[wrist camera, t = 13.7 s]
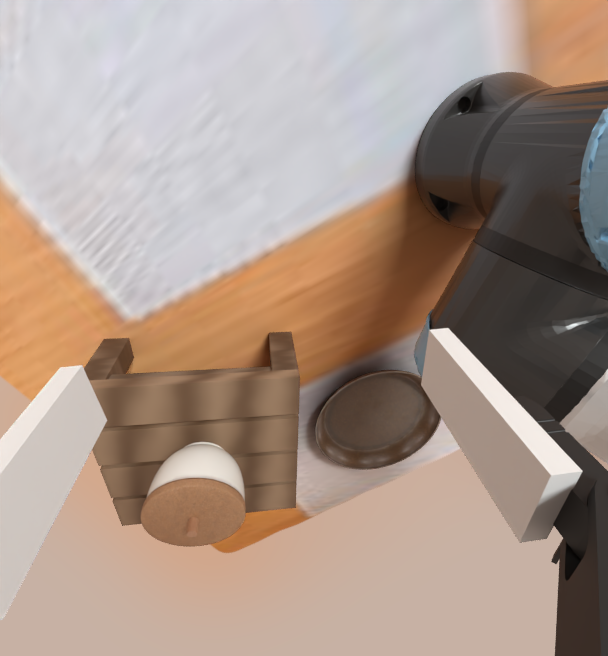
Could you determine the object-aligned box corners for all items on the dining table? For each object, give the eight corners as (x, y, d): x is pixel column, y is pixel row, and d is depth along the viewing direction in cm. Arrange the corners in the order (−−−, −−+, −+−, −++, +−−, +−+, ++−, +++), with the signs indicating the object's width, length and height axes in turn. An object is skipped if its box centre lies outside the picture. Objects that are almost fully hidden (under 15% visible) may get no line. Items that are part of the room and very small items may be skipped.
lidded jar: (256, 434, 43) (257, 507, 35) (234, 490, 47) (231, 565, 39) (165, 420, 40) (143, 496, 32) (151, 481, 44) (129, 560, 36)
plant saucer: (382, 335, 50) (390, 348, 47) (457, 401, 59) (467, 415, 56) (285, 420, 56) (287, 436, 53) (367, 469, 65) (372, 484, 62)
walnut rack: (291, 331, 48) (299, 377, 39) (289, 452, 60) (295, 507, 51) (103, 339, 45) (68, 390, 36) (141, 464, 57) (122, 525, 48)
